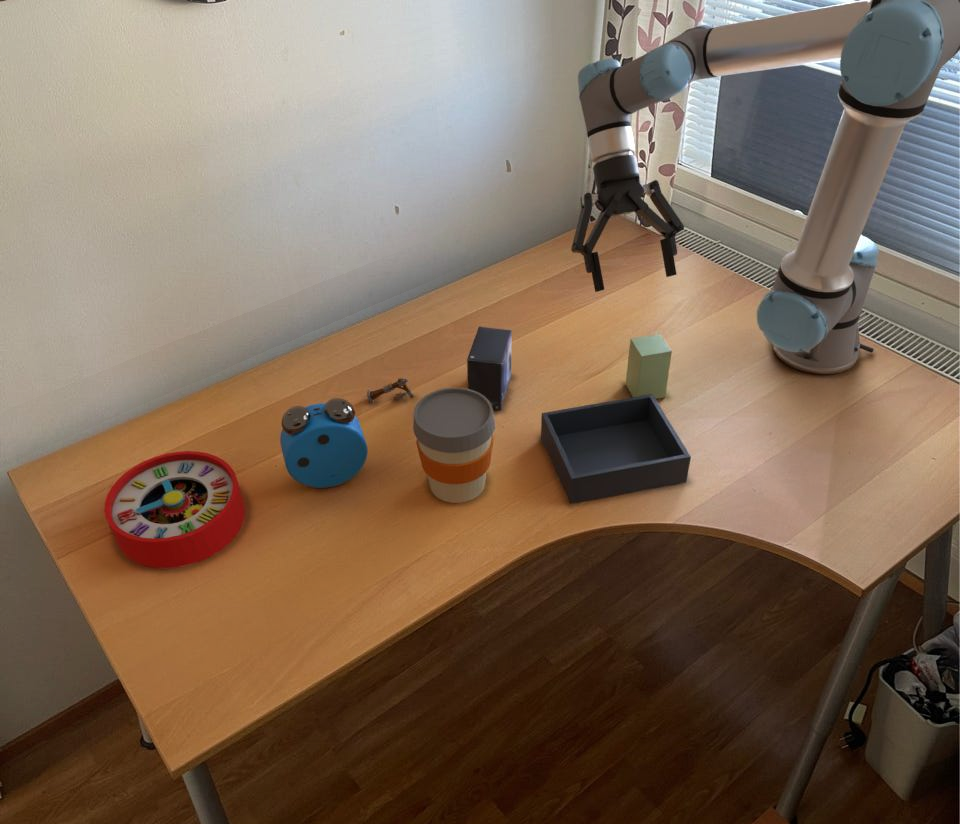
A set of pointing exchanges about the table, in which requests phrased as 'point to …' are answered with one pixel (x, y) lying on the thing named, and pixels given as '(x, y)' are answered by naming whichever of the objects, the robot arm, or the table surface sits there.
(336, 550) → the table surface
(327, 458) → the alarm clock
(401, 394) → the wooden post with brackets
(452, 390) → the reusable coffee cup
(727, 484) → the table surface
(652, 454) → the bin
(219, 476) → the toy clock
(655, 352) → the block
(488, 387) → the small box
